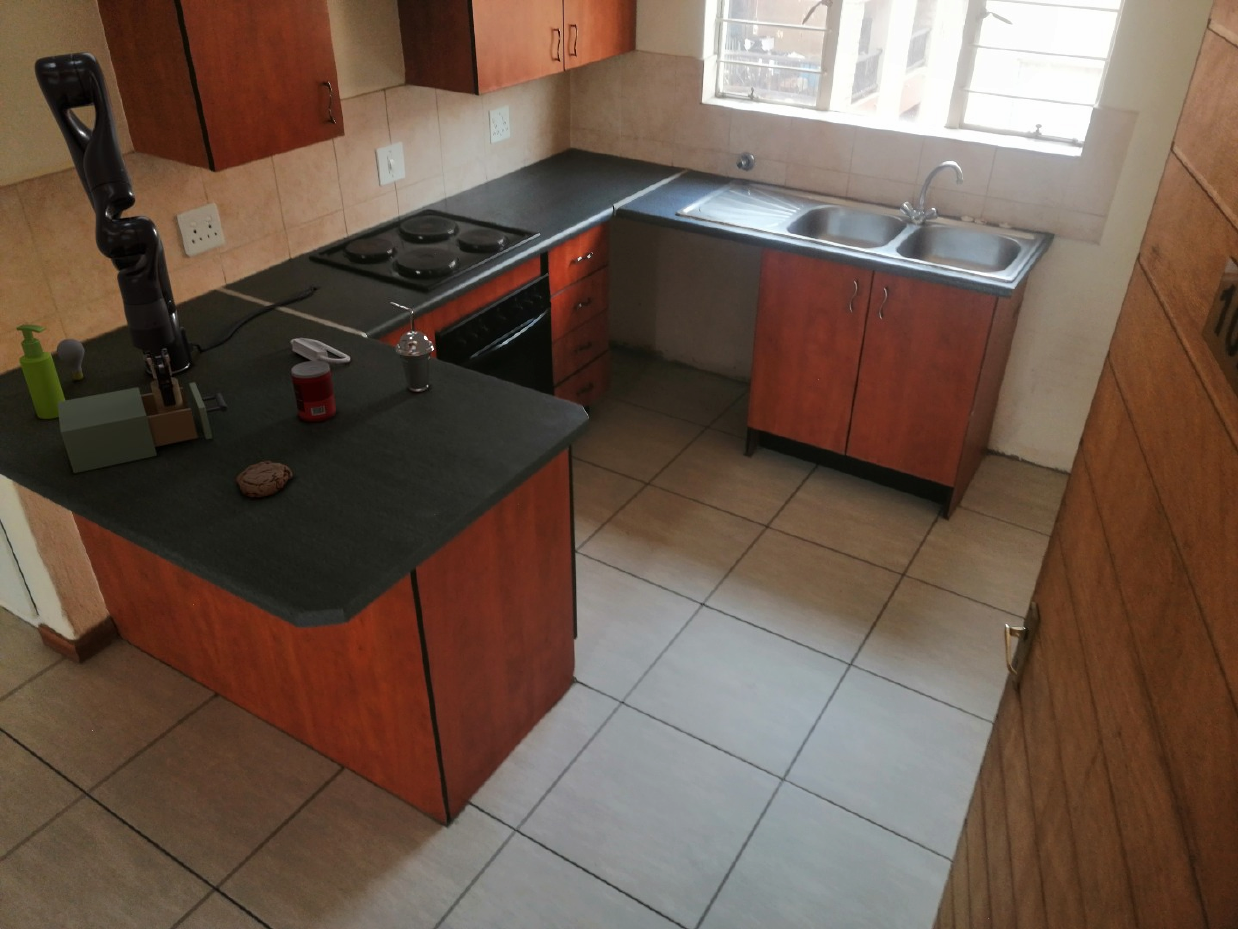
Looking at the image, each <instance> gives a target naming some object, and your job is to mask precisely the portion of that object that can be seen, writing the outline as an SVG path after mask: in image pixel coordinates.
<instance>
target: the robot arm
mask: <svg viewBox="0 0 1238 929" xmlns="http://www.w3.org/2000/svg"><path fill="white" fill-rule="evenodd" d="M33 68H34V74H35V78H36V80H37V83H38V84H37V85H38V86H39V88H40V91H41V93H42V95H43V98H44V99H45V101H46V103H47V105H48V107H49V110H50V111H51V113H52V116H53V118H54V119H55V122H56V124H57V126H58V128H59V130H60V132H61V134H62V137H63V139H64V142H65V143H66V146H67V148H68V152H69V154H70V158H71V159H72V160H71V161H72V162H73V165H74V168H75V171H76V174H77V175H78V178H79V181H80V183H81V185H82V188H83V190H84V191H85V194H86V196H87V199H88V202H89V203H90V205H91V208H92V210H93V213H94V214H95V227H94V228H95V229H94V230H95V231H94V234H95V236H94V237H95V245H96V247H97V249H98V251H99V252H100V253H101V254H102V255H103V256H104V257H106V258H108V259H110V262H111V264H112V265H113V267H114V269H116V271H118V272H117V274H116V280H117V285H118V288H119V292H120V295H121V299H122V303H123V311H124V317H125V320H126V325H127V327H128V328H127V329H128V332H129V335H130V339H131V344H132V346H133V347H134V348H136V349H137V350H141V353H142V359H143V361H144V363H145V369H146V373H147V374H148V375H150V376H152V377H153V379H154V380H156V379H157V382H158V389H160V391H161V395H162V399H163V403H164V406H166V407H168V406H173V405H175V404H176V401H175V397H174V393H173V389H172V388H173V386H174V385H173V384H172V380H171V377H172V376H175V375H178V374H182V373H183V372H185V371H187V370H188V369H189V368H190V367H192V366H194V361H193V357H192V352H195V348H194V347H196V349H197V350H198V351H199V352H205V351H208V350H211V349H213V348H215V347H217V346H219V345H221V344H222V343H224V342H225V341H227V340H228V339H229V338H230V337H231V336H232V334H233V333H234V332H235V331H236V330H237V329H238V328H240V327H241V326H242V325H243V324H244V323H245V322H247V321H249V320H250V319H252V318H254V317H255V316H257V315H260V314H262V313H264V312H267V311H269V310H271V309H274V308H277V307H279V306H282V305H286V304H288V303H291V302H295V301H298V300H301V299H304V298H307V297H308V296H309V295H310V294H312V291H311V292H309V291H310V290H311V289H312V290H318V289H319V288H318V286H317V285H316V284H311V285H310V286H309V287H308V290H307V291H306V292H304V293H302V294H300V295H298V296H299V297H298V296H293V297H289V298H286V299H284V300H281V301H278V302H275V303H272V304H269V305H267V306H264V307H261V308H259V309H258V310H256V311H253V312H251V313H249V314H248V315H246V316H245V317H243V318H241V319H240V320H239V321H238V322H236V324H234V325H233V326H232V327H231V328H230V329H229V331H228V332H227V333H226V334H225V335H224V336H222V337H221V338H219V339H218V340H216V341H214V342H213V343H210V344H209V345H206V346H202V345H201V344H200V343H199V342H198V341H189V340H188V336H187V332H186V328H185V327H184V326H181V323H180V319H179V315H178V311H177V307H176V306H177V305H176V303H175V298H174V294H173V290H172V285H171V280H170V276H169V272H168V265H167V259H166V253H165V248H164V243H163V240H162V237H161V235H160V233H159V230H158V227H157V225H156V224H155V223H154V221H153V220H152V219H151V218H150V217H147V216H145V215H135V216H127V217H122V216H123V212H125V211H127V210H129V209H131V208H132V207H133V206H134V205H135V203H136V194H135V192H134V191H135V190H134V189H133V187H134V186H133V179H132V177H131V174H130V171H129V167H128V165H127V163H126V159H125V157H124V156H123V154H122V149H121V143H120V138H119V132H118V127H117V122H116V117H115V112H114V108H113V102H112V99H111V94H110V89H109V86H108V84H107V80H106V77H105V74H104V70H103V68H102V67H101V65H100V63H99V61H98V59H97V57H96V56H95V55H94V54H92V53H91V52H88V51H87V52H86V51H85V52H74V53H73V52H72V53H64V54H57V55H50V56H44V57H41V58H37V60H36V61H35V62H34V66H33ZM90 106H91V107H94V123H93V127H92V129H91V128H90V127H88V126H87V124H85V123H84V122H83V121H82V120H81V119H80V118H79V117H78V116H77V114H76V113H75V112H74V110H72V109H78V108H86V107H90ZM314 286H315V287H314ZM307 292H309V293H307ZM306 293H307V294H306ZM301 295H303V296H301ZM296 297H297V298H296ZM283 301H284V302H283ZM165 380H168V381H169V383H163V384H161V381H165Z"/></svg>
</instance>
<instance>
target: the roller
mask: <svg viewBox="0 0 1238 929" xmlns="http://www.w3.org/2000/svg"><path fill="white" fill-rule="evenodd" d="M171 380H172V384H173V385H174V386H173V388H172V389H173V393H174V397H175V401H176V404H175V405H173V406H168V407H166V406H164V403H163V399H162V395H161V391H160V389H158V382H157V379H154V380H152V381H151V382H150V388H151V393H153V396H154V400H155V404H156V408H157V411H158V414H162V413H167V412H172V411H177V410H182V409H184V405H183V401H182V397H181V393H180V388H181V387H180V385H179V381H178V379H177V378H176V377H172V376H171ZM163 383H169V381H168V380H165V381H161V384H163Z"/></svg>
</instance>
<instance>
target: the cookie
mask: <svg viewBox="0 0 1238 929" xmlns="http://www.w3.org/2000/svg"><path fill="white" fill-rule="evenodd" d="M293 476H294V475H293V472H292V470H291V468H290V467H288V465H286V464H283V463H281V462H273V461H271V460H264V461H260V462H257V463H255V464H252V465H249V466H248V467H246V468H245V469H244V470H243V471H242V472H240V474H238V476H236V482H237V484H238V486H239V488H240V489H239V490H240V491H241V493H242V494H243V495H244V496H246V497H247V496H248V497H249V498H262V497H263V498H264V497H266V496H271V495H274V494H276V493H277V492H278V491H280V490H281V489H283V488H284V487H285V485H286V483H287V482H288V480H291V479H292V478H293Z"/></svg>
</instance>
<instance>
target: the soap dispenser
mask: <svg viewBox="0 0 1238 929" xmlns="http://www.w3.org/2000/svg"><path fill="white" fill-rule="evenodd" d="M46 329H47V328H46V327H45V326H41V325H37V324H21V325H19V326H16V331H19V332H20V331H21V333H22V336H23V340H22V341H21V342H20V345H21V348H22V351H23V355H22V356H21V357H19V359H18V361H19V364H20V367H21V370H22V373H23V377H24V379H25V382H26V385H27V388H28V391H29V394H30V397H31V400H32V404H33V407H34V410H35V413H36V416H37V417H38V418H39V419H42V420H51V419H57V418H59V412H58V403H57V402H61V401H66V398H65V395H64V391H63V388H62V386H61V382H60V379H59V375H58V372H57V369H56V366H55V362H54V359H53V356H52V354H51V352H48V351H44V350H43V347H42V344H41V341H40V339H39V338H36V337H35V336H34V334H33V332H34V333H37V334H39V333H41V332H43V331H45V330H46Z"/></svg>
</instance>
